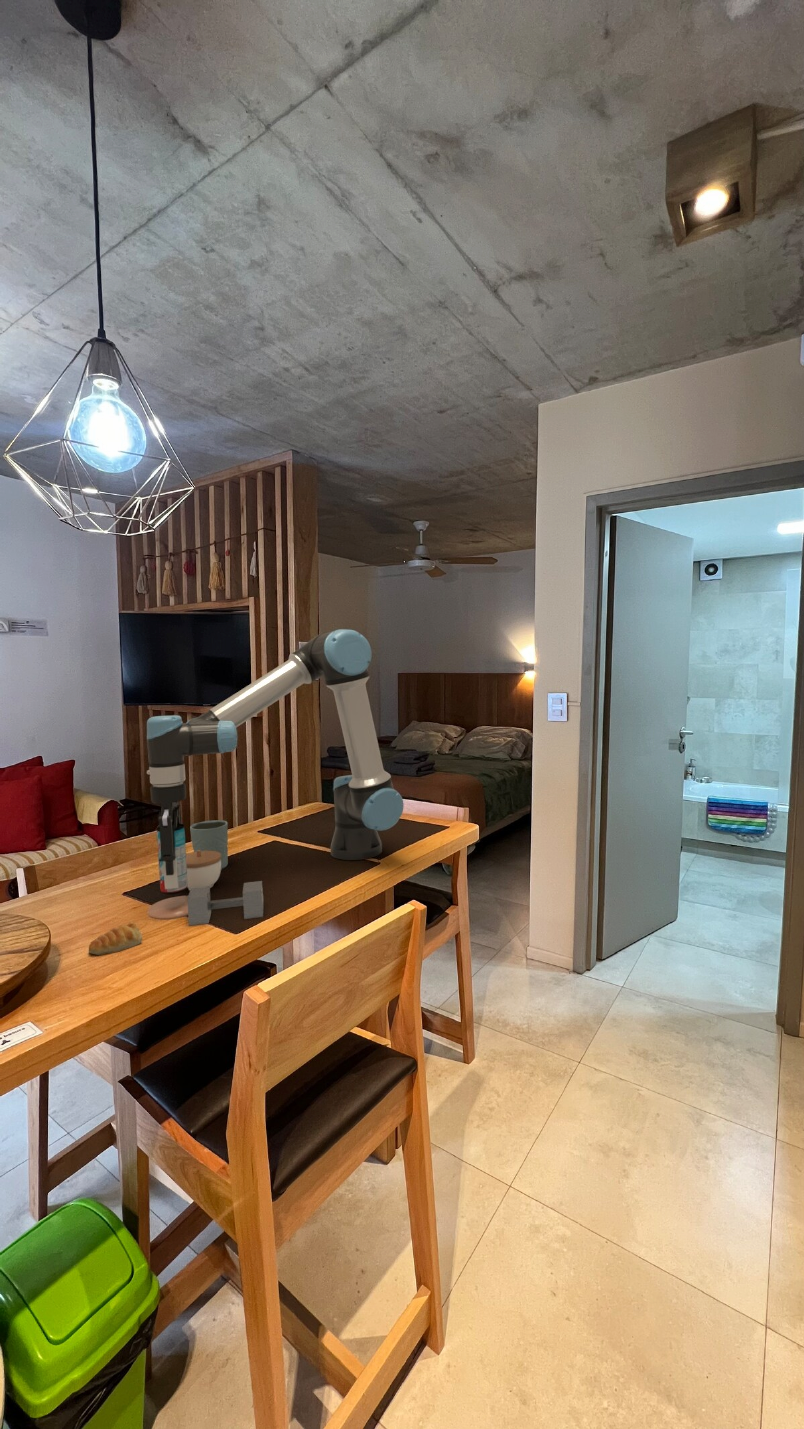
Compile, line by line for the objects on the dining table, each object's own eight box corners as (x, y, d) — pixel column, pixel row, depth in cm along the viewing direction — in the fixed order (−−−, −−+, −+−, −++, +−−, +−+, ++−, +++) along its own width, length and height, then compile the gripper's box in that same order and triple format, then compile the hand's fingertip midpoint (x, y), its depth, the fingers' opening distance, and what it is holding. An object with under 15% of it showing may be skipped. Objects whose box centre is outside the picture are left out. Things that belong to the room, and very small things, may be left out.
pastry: (96, 961, 112) (94, 942, 112) (83, 951, 117) (82, 932, 116) (145, 943, 119) (144, 925, 118) (131, 934, 123) (130, 917, 123)
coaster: (206, 895, 143) (206, 893, 143) (200, 915, 131) (200, 912, 131) (153, 901, 140) (153, 899, 140) (142, 922, 129) (142, 919, 129)
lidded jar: (168, 892, 146) (166, 855, 146) (198, 877, 156) (196, 842, 156) (203, 896, 142) (201, 859, 142) (231, 881, 152) (229, 846, 152)
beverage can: (175, 884, 139) (171, 822, 138) (193, 888, 137) (189, 824, 136) (154, 893, 134) (150, 828, 133) (173, 897, 131) (169, 831, 130)
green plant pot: (212, 874, 158) (209, 830, 157) (184, 870, 163) (181, 827, 162) (237, 862, 167) (235, 821, 167) (210, 858, 172) (208, 818, 171)
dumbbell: (263, 901, 138) (262, 876, 138) (262, 916, 129) (261, 890, 129) (194, 909, 135) (192, 883, 135) (188, 925, 126) (187, 898, 126)
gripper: (158, 777, 142) (164, 871, 144) (141, 793, 124) (148, 900, 125) (190, 775, 144) (196, 868, 145) (178, 790, 125) (185, 896, 127)
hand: (174, 882), depth 135 cm, fingers closed on beverage can, 6 cm apart
